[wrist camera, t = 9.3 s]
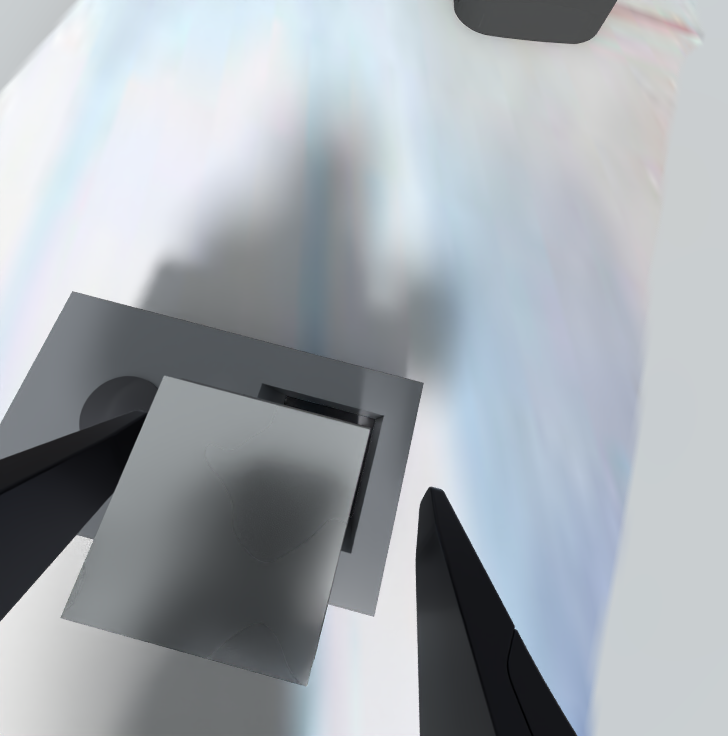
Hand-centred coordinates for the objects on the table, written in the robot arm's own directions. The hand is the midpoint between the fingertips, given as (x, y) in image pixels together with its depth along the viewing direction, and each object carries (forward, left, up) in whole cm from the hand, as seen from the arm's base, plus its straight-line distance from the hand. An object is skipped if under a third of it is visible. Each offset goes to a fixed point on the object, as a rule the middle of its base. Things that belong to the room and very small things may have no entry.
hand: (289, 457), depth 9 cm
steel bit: (-1, 0, -9) cm, 9 cm away
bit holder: (+1, +5, -9) cm, 10 cm away
